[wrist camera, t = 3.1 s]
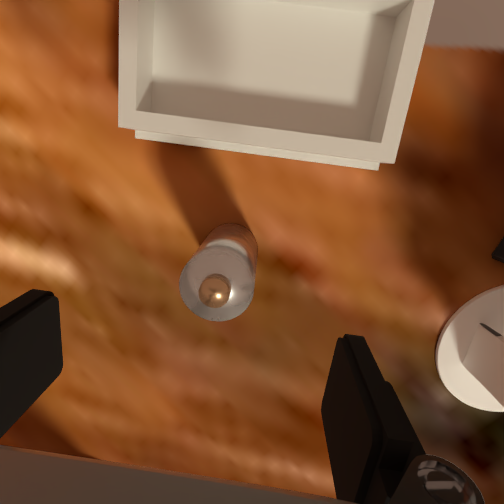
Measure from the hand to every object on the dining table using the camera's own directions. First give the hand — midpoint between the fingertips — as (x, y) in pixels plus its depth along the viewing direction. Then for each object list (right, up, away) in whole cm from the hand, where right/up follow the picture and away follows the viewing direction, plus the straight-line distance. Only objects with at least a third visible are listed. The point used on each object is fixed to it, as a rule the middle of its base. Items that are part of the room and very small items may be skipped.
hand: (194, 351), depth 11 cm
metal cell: (0, +3, +13) cm, 14 cm away
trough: (+3, +15, +10) cm, 18 cm away
